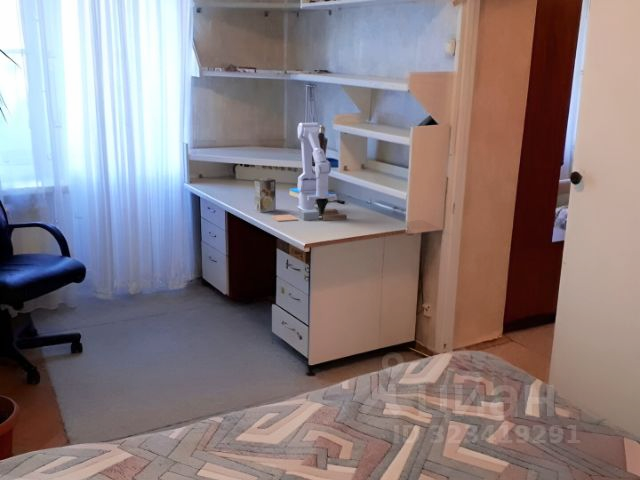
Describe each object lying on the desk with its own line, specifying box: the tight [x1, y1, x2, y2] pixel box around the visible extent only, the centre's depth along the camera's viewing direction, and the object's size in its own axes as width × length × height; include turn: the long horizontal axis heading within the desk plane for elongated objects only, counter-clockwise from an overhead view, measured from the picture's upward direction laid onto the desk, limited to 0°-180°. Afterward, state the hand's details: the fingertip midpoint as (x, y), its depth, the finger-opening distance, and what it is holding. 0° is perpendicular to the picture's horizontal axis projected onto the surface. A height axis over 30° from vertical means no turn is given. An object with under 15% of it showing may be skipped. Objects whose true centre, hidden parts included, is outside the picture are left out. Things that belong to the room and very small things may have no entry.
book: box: [288, 187, 339, 204], centre depth 371 cm, size 17×4×25 cm
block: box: [299, 209, 320, 221], centre depth 324 cm, size 5×8×4 cm, turn 114°
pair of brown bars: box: [317, 208, 348, 222], centre depth 329 cm, size 14×12×2 cm
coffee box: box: [253, 177, 277, 213], centre depth 336 cm, size 9×6×16 cm
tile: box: [271, 213, 299, 223], centre depth 323 cm, size 10×10×1 cm
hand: (321, 213), depth 328 cm, fingers closed
